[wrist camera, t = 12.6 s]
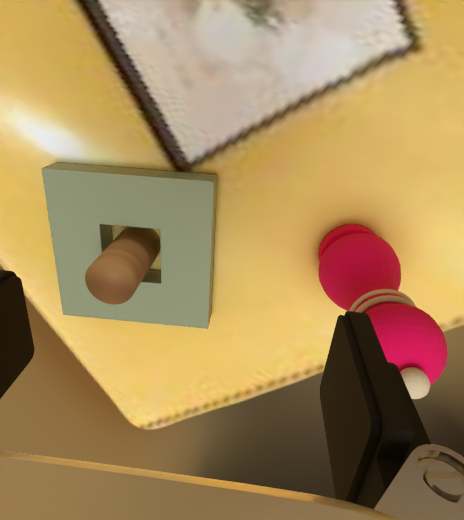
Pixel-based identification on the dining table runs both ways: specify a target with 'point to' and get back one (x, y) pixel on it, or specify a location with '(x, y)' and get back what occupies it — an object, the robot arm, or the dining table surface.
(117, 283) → the walnut peg
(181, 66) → the dining table surface
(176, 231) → the socket board
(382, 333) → the pepper mill
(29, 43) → the dining table surface
